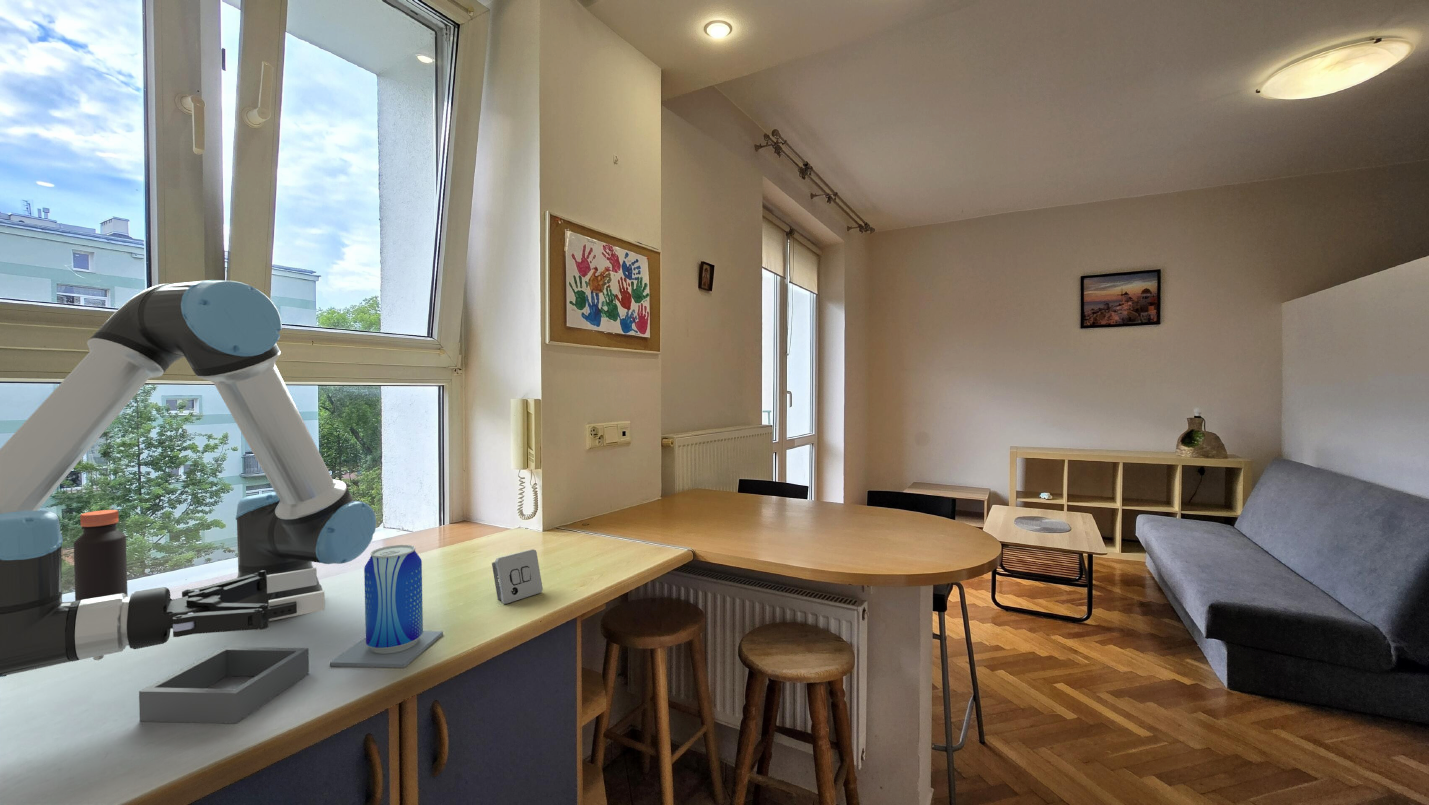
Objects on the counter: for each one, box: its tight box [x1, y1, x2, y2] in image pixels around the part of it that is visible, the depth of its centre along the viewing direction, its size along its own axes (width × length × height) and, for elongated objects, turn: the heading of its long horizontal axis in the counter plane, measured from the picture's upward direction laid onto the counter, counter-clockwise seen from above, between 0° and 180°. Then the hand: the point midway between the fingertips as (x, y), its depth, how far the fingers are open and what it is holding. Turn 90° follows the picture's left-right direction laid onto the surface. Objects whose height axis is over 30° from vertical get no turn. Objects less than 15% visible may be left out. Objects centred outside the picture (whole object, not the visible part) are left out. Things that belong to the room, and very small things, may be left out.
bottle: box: [73, 509, 129, 601], centre depth 109 cm, size 7×7×20 cm
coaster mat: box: [329, 630, 444, 668], centre depth 97 cm, size 12×12×1 cm
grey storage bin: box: [138, 646, 310, 724], centre depth 82 cm, size 13×13×4 cm
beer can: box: [363, 544, 424, 654], centre depth 97 cm, size 8×8×16 cm
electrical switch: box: [491, 548, 544, 605], centre depth 122 cm, size 9×5×9 cm, turn 141°
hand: (320, 587), depth 91 cm, fingers open, 13 cm apart
